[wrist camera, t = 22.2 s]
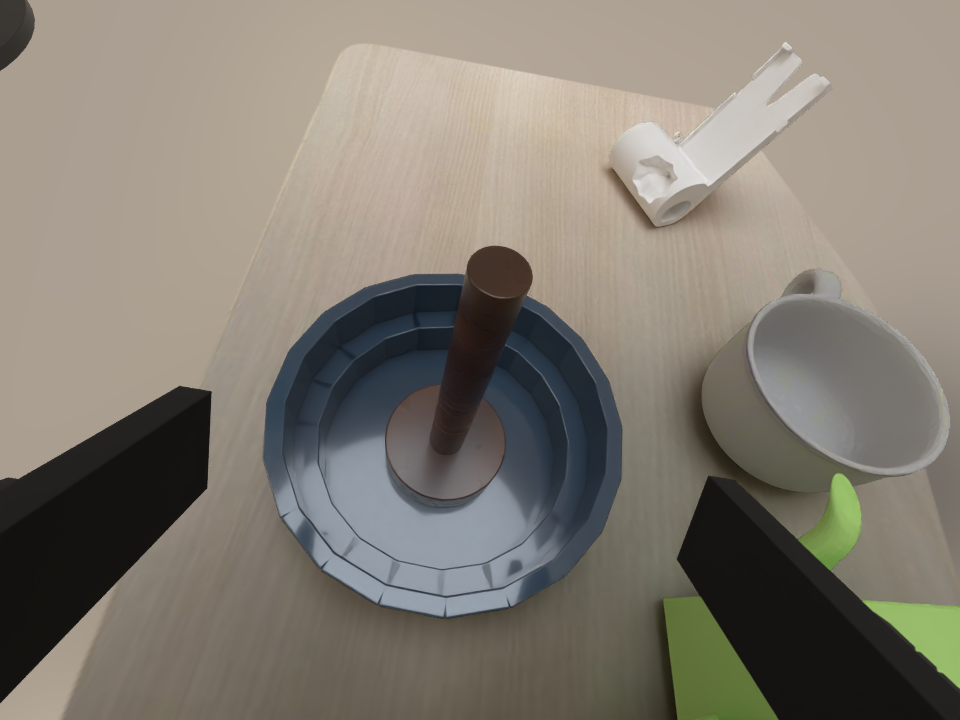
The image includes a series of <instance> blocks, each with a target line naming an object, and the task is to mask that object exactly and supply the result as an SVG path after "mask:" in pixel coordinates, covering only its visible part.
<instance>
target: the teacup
mask: <svg viewBox="0 0 960 720" xmlns="http://www.w3.org/2000/svg"><path fill="white" fill-rule="evenodd" d="M812 292H813V294H811V293H812ZM841 292H842V285H841V281H840V279H839V277H838V276H836V275H835V274H834V273H832V272H830V271H826V270H823V269H809V270H807V271H804V272H802V273H801V274H799V275H798V276H797V277H796V278H794V280H793V281H792V282H791V283H790V284H789V285H788V286H787V288H786V289H785V291H784V293H783V294H782V296H781V298H778V299H776V300H773V301H771V302H770V303H768V304H767V305H765V306H764V307H763V308H762V309H761V310H760V311H759V312H758V313H757V314H756V315H755V316H754V318H753V320H752V321H751V322H750V323H749V324H747V325H746V326H745V327H744V328H743V329H742V330H741V331H740V332H738V333H737V334H736V335H735V336H734V337H733V338H732V339H731V340H730V341H729V342H728V343H727V344H726V345H725V346H724V347H723V348H722V349H721V350H720V352H719V353H718V354H717V355H716V356H715V358H714V359H713V360H712V362H711V364H710V365H709V367H708V369H707V371H706V374H705V377H704V380H703V385H702V406H703V412H704V415H705V419H706V421H707V424H708V426H709V429H710V430H711V432H712V434H713V436H714V438H715V439H716V441H717V442H718V444H719V445H720V447H721V448H722V449H723V450H724V452H725V453H726V454H727V455H728V456H729V457H730V458H731V459H732V460H733V461H734V462H735V463H736V464H737V465H739V466H740V467H741V468H742V469H744V470H745V471H746V472H748V473H749V474H751V475H752V476H754V477H756V478H758V479H759V480H761V481H763V482H765V483H768V484H770V485H773V486H775V487H778V488H781V489H786V490H790V491H796V492H808V493H817V492H827V491H830V485H831V481H832V478H833V476H834V475H835V474H838V473H840V474H843V475H844V476H845V477H846V478H847V479H848V480H849V481H850V483H851V485H852V486H857V485H861V484H865V483H868V482H872V481H875V480H879V479H882V478H886V477H896V476H904V475H908V474H911V473H914V472H916V471H918V470H921V469H923V468H925V467H926V466H928V465H930V464H931V462H933V461H934V460H935V459H936V458H937V457H938V456H939V455H940V454H941V452H942V451H943V449H944V447H945V444H946V442H947V439H948V434H949V431H950V418H949V416H950V414H949V413H950V412H949V407H948V403H947V401H946V397H945V393H944V391H943V390H942V388H941V385H940V383H939V380H938V378H937V376H936V374H935V373H934V371H933V370H932V368H931V366H930V364H929V363H928V362H927V360H926V359H925V358H924V357H923V355H922V354H921V353H920V352H919V351H918V350H917V349H916V347H915V346H914V345H913V344H912V343H911V342H910V341H909V340H908V339H907V338H906V337H905V336H904V335H902V334H901V333H900V332H899V331H898V330H896V329H895V328H894V327H893V326H891V325H890V324H889V323H888V322H886V321H884V320H883V319H881V318H879V317H878V316H876V315H875V314H873V313H871V312H869V311H867V310H865V309H863V308H861V307H858V306H856V305H854V304H852V303H850V302H846V301H844V300H841V299H840V297H841Z"/></svg>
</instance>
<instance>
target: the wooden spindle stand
mask: <svg viewBox="0 0 960 720" xmlns="http://www.w3.org/2000/svg"><path fill="white" fill-rule="evenodd" d="M532 279H533V275H532V270H531V267H530V265H529V263H528V262H527V261H526V259H525V258H524V257H523V256H522V255H520V254H519V253H518V252H516V251H514V250H512V249H509V248H506V247H502V246H489V247H485V248H482V249H480V250H478V251H476V252H475V253H474V254H473V255H472V256H471V258H470V259H469V261H468V264H467V269H466V273H465V278H464V283H463V287H462V292H461V296H460V301H459V305H458V310H457V314H456V319H455V324H454V328H453V333H452V337H451V342H450V346H449V351H448V356H447V360H446V365H445V369H444V374H443V378H442V383H441V384H436V385H431V386H427V387H424V388H421V389H419V390H417V391H415V392H413V393H411V394H410V395H409V396H407V397H406V398H405V399H404V400H403V401H402V402H400V403H399V405H398V406H397V407H396V409H395V410H394V412H393V413H392V415H391V417H390V419H389V422H388V425H387V429H386V435H385V454H386V462H387V466H388V469H389V472H390V474H391V476H392V478H393V480H394V482H395V483H396V485H397V486H398V487H399V488H400V489H401V490H402V491H403V492H404V493H405V494H406V495H407V496H409V497H410V498H412V499H413V500H415V501H417V502H419V503H421V504H424V505H427V506H432V507H440V508H446V507H454V506H459V505H461V504H464V503H467V502H469V501H470V500H472V499H474V498H475V497H477V496H478V495H479V494H480V493H482V492H483V491H484V490H485V488H486V487H487V486H488V485H489V483H490V482H491V481H492V480H493V478H494V477H495V476H496V474H497V472H498V471H499V469H500V467H501V464H502V462H503V459H504V455H505V448H506V439H505V432H504V428H503V425H502V422H501V420H500V418H499V416H498V414H497V412H496V411H495V410H494V408H493V407H492V406H491V405H490V403H489V402H488V401H487V400H485V399H484V398H483V396H484V394H485V391H486V389H487V387H488V384H489V382H490V380H491V377H492V375H493V373H494V370H495V368H496V366H497V363H498V361H499V359H500V356H501V354H502V352H503V349H504V347H505V345H506V342H507V340H508V338H509V335H510V333H511V331H512V328H513V326H514V324H515V321H516V319H517V317H518V314H519V312H520V310H521V307H522V305H523V303H524V300H525V298H526V296H527V293H528V291H529V289H530V286H531V284H532Z"/></svg>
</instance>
